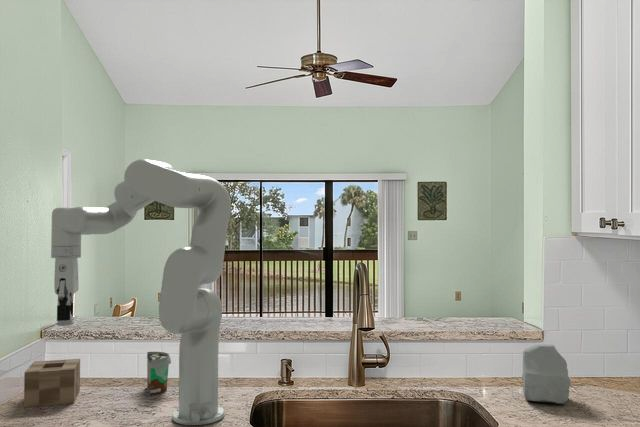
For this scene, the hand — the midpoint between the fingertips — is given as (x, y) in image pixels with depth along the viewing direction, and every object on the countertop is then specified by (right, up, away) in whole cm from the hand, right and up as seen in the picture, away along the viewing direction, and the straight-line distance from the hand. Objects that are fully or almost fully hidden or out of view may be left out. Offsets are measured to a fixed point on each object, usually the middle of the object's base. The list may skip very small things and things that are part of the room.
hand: (65, 318), depth 154 cm
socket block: (-3, -22, -1) cm, 22 cm away
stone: (+132, -22, -1) cm, 134 cm away
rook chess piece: (0, -2, 0) cm, 2 cm away
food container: (+24, -22, +7) cm, 33 cm away
